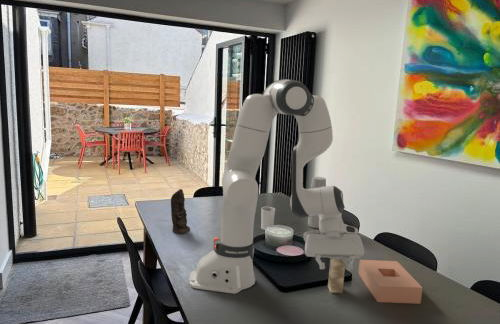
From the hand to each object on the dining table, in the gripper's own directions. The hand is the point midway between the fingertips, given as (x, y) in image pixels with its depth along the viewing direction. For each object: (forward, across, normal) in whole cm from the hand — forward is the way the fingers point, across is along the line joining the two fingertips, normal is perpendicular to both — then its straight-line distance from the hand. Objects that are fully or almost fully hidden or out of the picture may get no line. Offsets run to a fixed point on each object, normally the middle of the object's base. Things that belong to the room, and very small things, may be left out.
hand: (336, 269), depth 128 cm
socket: (+4, +19, +6) cm, 20 cm away
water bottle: (-41, +6, +51) cm, 65 cm away
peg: (+6, 0, +4) cm, 7 cm away
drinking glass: (-36, -19, +46) cm, 61 cm away
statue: (-30, -60, +39) cm, 78 cm away
